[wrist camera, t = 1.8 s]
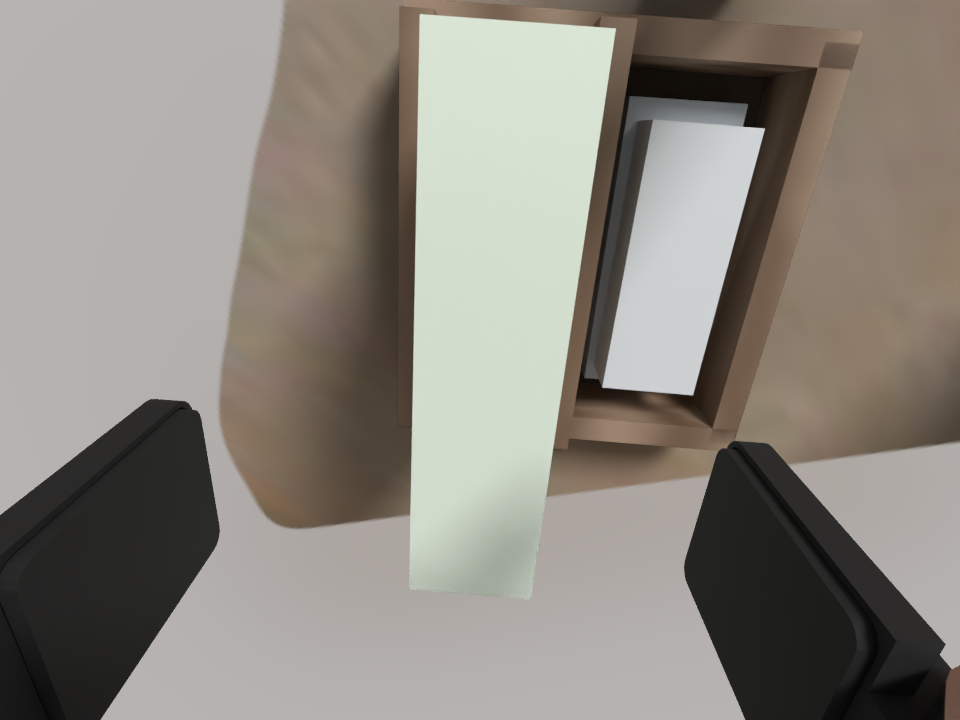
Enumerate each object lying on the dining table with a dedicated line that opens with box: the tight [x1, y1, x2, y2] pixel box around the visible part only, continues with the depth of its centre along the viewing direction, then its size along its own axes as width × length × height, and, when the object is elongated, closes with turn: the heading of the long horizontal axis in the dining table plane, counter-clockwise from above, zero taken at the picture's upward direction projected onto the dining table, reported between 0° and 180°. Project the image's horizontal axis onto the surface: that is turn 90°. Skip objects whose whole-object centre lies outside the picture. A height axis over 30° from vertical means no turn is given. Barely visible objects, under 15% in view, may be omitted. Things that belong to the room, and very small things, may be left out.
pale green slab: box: [409, 14, 616, 599], centre depth 23 cm, size 4×16×20 cm, turn 176°
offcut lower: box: [581, 96, 748, 379], centre depth 31 cm, size 6×16×3 cm, turn 176°
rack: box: [397, 0, 864, 451], centre depth 29 cm, size 20×22×7 cm
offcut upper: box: [594, 119, 765, 395], centre depth 28 cm, size 5×14×3 cm, turn 176°
